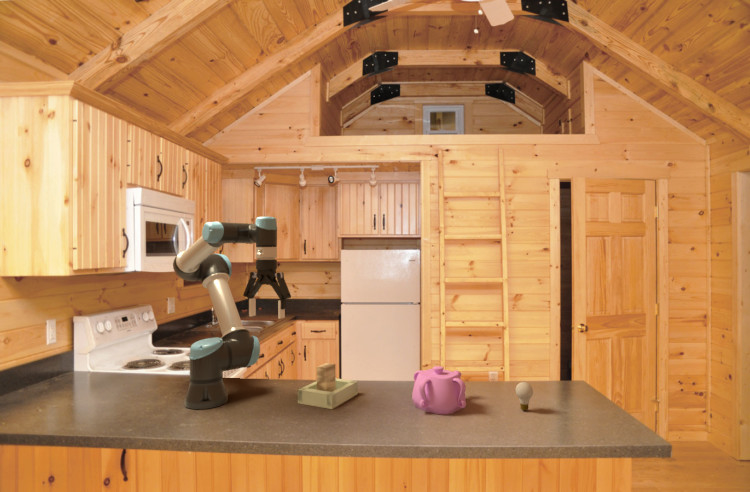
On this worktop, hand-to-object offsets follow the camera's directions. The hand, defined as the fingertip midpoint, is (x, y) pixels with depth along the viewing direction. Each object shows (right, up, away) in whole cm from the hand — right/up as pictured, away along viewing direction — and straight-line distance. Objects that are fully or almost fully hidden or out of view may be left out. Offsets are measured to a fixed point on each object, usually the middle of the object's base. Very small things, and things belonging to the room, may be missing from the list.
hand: (266, 317), depth 162 cm
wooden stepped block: (+22, -32, +9) cm, 39 cm away
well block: (+22, -33, +9) cm, 40 cm away
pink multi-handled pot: (+64, -33, +1) cm, 72 cm away
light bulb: (+92, -32, -6) cm, 98 cm away
